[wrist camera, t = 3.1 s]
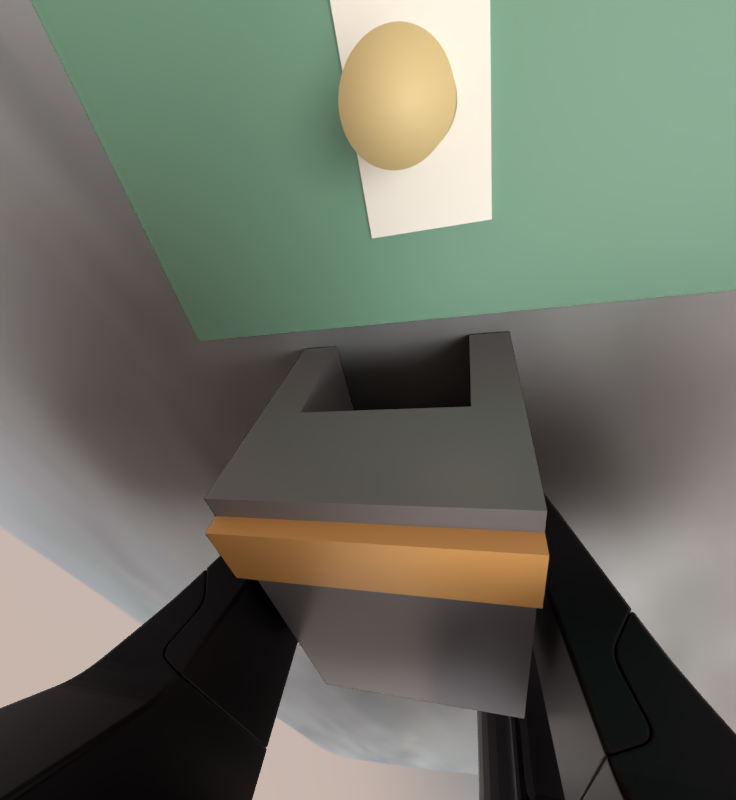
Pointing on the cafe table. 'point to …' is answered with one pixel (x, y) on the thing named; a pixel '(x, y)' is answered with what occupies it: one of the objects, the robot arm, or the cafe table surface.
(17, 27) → the cafe table surface
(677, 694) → the robot arm
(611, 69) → the board
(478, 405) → the plug housing
